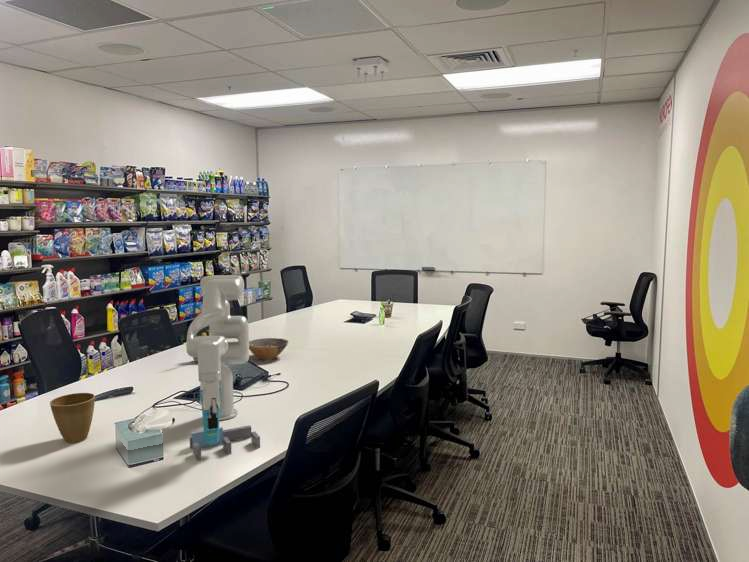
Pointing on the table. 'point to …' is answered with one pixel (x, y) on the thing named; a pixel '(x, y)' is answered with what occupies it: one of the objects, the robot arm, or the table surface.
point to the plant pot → (73, 415)
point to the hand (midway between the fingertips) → (211, 425)
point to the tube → (209, 434)
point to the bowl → (267, 347)
